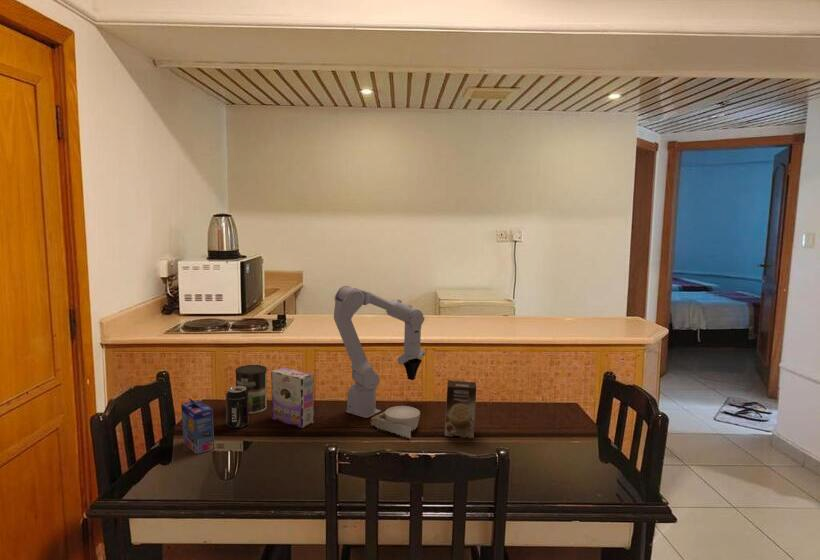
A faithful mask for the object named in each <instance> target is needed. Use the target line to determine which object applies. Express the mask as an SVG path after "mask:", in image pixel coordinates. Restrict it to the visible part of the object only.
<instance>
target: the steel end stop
mask: <svg viewBox="0 0 820 560" xmlns="http://www.w3.org/2000/svg"><path fill="white" fill-rule="evenodd" d="M375 427H377V428H380V429H383V430H386V431H389V432H391V433H395V434H397V435H400V436H399V437H401V436H402V437H401V438H404V437H406V438H405V439H407V438H410V439H411V437H412V432H411V427H408V426H405V425H401V424H398V423H395V422H391V421H388V420H385V419H382V418H378V417H377V418H376V424H375ZM391 433H390V434H391ZM397 435H396V436H397Z"/></svg>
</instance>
